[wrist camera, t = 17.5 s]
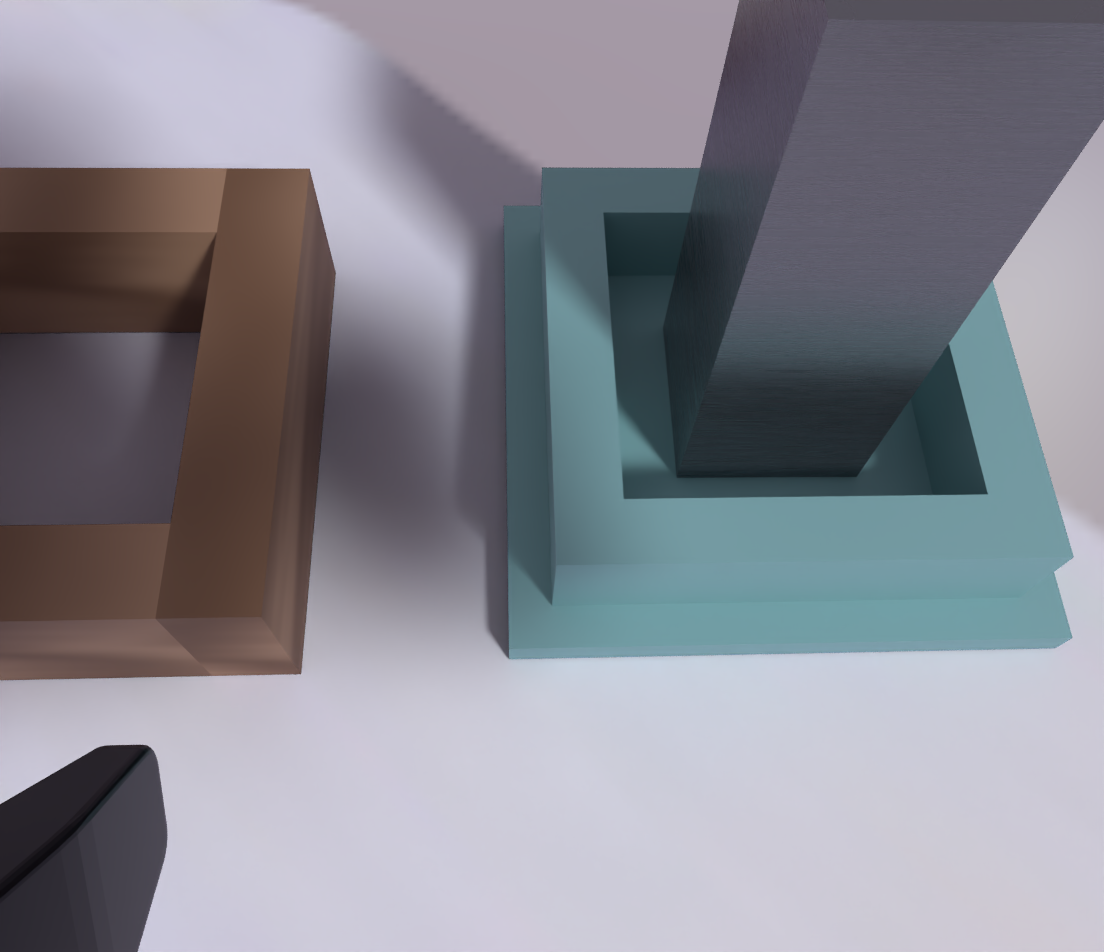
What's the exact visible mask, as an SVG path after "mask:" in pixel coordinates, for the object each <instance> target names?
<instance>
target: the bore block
mask: <svg viewBox="0 0 1104 952" xmlns="http://www.w3.org/2000/svg"><path fill="white" fill-rule="evenodd" d="M335 275H336V272H335V268H334V264H333V260H332V256H331V252H330V248H329V244H328V240H327V236H326V232H325V228H324V224H323V220H322V216H321V212H320V208H319V204H318V200H317V196H316V192H315V188H314V184H313V180H312V177H311V173H310V169H221V168H0V333H79V332H201V335H200V341H199V347H198V353H197V360H196V366H195V372H194V379H193V385H192V391H191V397H190V404H189V410H188V416H187V423H186V429H185V435H184V442H183V448H182V454H181V460H180V467H179V473H178V479H177V486H176V492H175V498H174V504H173V511H172V517H171V523H157V524H82V525H7V526H0V680H32V679H81V678H129V677H178V676H227V675H275V674H301V669H302V657H303V646H304V634H305V623H306V611H307V599H308V588H309V576H310V565H311V553H312V541H313V530H314V518H315V507H316V495H317V483H318V472H319V460H320V449H321V437H322V425H323V414H324V402H325V391H326V379H327V367H328V356H329V344H330V333H331V321H332V309H333V298H334V286H335Z"/></svg>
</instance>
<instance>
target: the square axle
mask: <svg viewBox="0 0 1104 952" xmlns="http://www.w3.org/2000/svg"><path fill="white" fill-rule="evenodd" d="M1103 120H1104V0H739V4H738V8H737V13H736V17H735V21H734V26H733V30H732V34H731V38H730V43H729V47H728V51H727V55H726V60H725V64H724V69H723V73H722V77H721V81H720V86H719V90H718V94H717V98H716V103H715V107H714V111H713V116H712V120H711V124H710V128H709V133H708V137H707V141H706V146H705V150H704V154H703V158H702V163H701V167H700V171H699V175H698V180H697V184H696V188H695V193H694V197H693V201H692V205H691V210H690V214H689V218H688V223H687V227H686V231H685V235H684V240H683V244H682V248H681V253H680V257H679V261H678V265H677V270H676V274H675V278H674V283H673V287H672V291H671V295H670V300H669V304H668V308H667V313H666V317H665V321H664V325H663V333H664V344H665V355H666V366H667V377H668V388H669V399H670V410H671V421H672V432H673V443H674V454H675V465H676V476H677V478H727V477H857V476H858V474H859V473H860V471H861V470H862V469H863V467H864V466H865V464H866V463H867V461H868V460H869V458H870V457H871V455H872V454H873V453H874V451H875V450H876V448H877V447H878V445H879V444H880V442H881V441H882V440H883V438H884V437H885V435H886V434H887V432H888V431H889V429H890V428H891V427H892V425H893V424H894V422H895V421H896V419H897V418H898V416H899V415H900V414H901V412H902V411H903V409H904V408H905V406H906V405H907V403H908V402H909V401H910V399H911V398H912V396H913V395H914V393H915V392H916V390H917V389H918V388H919V386H920V385H921V383H922V382H923V380H924V379H925V377H926V376H927V374H928V373H929V372H930V370H931V369H932V367H933V366H934V364H935V363H936V361H937V360H938V359H939V357H940V356H941V354H942V353H943V351H944V350H945V348H946V347H947V346H948V344H949V343H950V341H951V340H952V338H953V337H954V335H955V334H956V333H957V331H958V330H959V328H960V327H961V325H962V324H963V322H964V321H965V320H966V318H967V317H968V315H969V314H970V312H971V311H972V309H973V308H974V307H975V305H976V304H977V302H978V301H979V299H980V298H981V296H982V295H983V293H984V292H985V291H986V289H987V288H988V286H989V285H990V283H991V282H992V280H993V279H994V278H995V276H996V275H997V273H998V272H999V270H1000V269H1001V267H1002V266H1003V265H1004V263H1005V262H1006V260H1007V259H1008V257H1009V256H1010V254H1011V253H1012V252H1013V250H1014V249H1015V247H1016V246H1017V244H1018V243H1019V241H1020V240H1021V239H1022V237H1023V235H1024V234H1025V233H1026V231H1027V230H1028V228H1029V227H1030V226H1031V224H1032V223H1033V221H1034V220H1035V218H1036V217H1037V215H1038V214H1039V213H1040V211H1041V210H1042V208H1043V207H1044V205H1045V204H1046V202H1047V201H1048V199H1049V198H1050V196H1051V195H1052V194H1053V192H1054V191H1055V189H1056V188H1057V186H1058V185H1059V184H1060V182H1061V181H1062V179H1063V178H1064V176H1065V175H1066V173H1067V172H1068V171H1069V169H1070V168H1071V166H1072V164H1073V163H1074V162H1075V160H1076V159H1077V157H1078V156H1079V155H1080V153H1081V152H1082V150H1083V149H1084V147H1085V146H1086V144H1087V143H1088V142H1089V140H1090V139H1091V137H1092V136H1093V134H1094V133H1095V132H1096V130H1097V129H1098V127H1099V126H1100V124H1101V123H1102V121H1103Z"/></svg>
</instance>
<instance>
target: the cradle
mask: <svg viewBox="0 0 1104 952" xmlns="http://www.w3.org/2000/svg"><path fill="white" fill-rule="evenodd" d="M699 171H700V168H542V185H541V206H504V277H505V362H506V447H507V532H508V617H509V659H540V658H590V657H640V656H690V655H740V654H790V653H840V652H889V651H939V650H989V649H1039V648H1056V647H1058V646H1060V645H1061V644H1063V643H1065V642H1066V641H1068V640H1070V639H1071V638H1072V635H1071V631H1070V627H1069V624H1068V620H1067V617H1066V613H1065V610H1064V606H1063V603H1062V599H1061V595H1060V592H1059V588H1058V585H1057V581H1056V578H1055V574H1054V571H1056V570H1057V569H1058V568H1060V567H1061V566H1062V565H1064V564H1065V563H1067V562H1068V561H1069V560H1071V559H1072V558H1073V557H1074V556H1073V553H1072V550H1071V546H1070V543H1069V539H1068V536H1067V533H1066V529H1065V526H1064V522H1063V519H1062V515H1061V512H1060V509H1059V505H1058V502H1057V498H1056V495H1055V492H1054V488H1053V485H1052V481H1051V478H1050V475H1049V471H1048V468H1047V464H1046V461H1045V458H1044V454H1043V451H1042V447H1041V444H1040V441H1039V437H1038V434H1037V430H1036V427H1035V424H1034V420H1033V417H1032V413H1031V410H1030V407H1029V403H1028V400H1027V396H1026V393H1025V390H1024V386H1023V383H1022V379H1021V376H1020V372H1019V369H1018V366H1017V363H1016V359H1015V355H1014V352H1013V349H1012V345H1011V342H1010V338H1009V335H1008V332H1007V328H1006V325H1005V321H1004V318H1003V315H1002V311H1001V308H1000V304H999V301H998V298H997V294H996V291H995V288H994V284H993V280H992V282H991V283H990V285H989V286H988V288H987V289H986V291H985V292H984V293H983V295H982V296H981V298H980V299H979V301H978V302H977V304H976V305H975V307H974V308H973V309H972V311H971V312H970V314H969V315H968V317H967V318H966V320H965V321H964V322H963V324H962V325H961V327H960V328H959V330H958V331H957V333H956V334H955V335H954V337H953V338H952V340H951V341H950V343H949V344H948V346H947V347H946V348H945V350H944V351H943V353H942V354H941V356H940V357H939V359H938V360H937V361H936V363H935V364H934V366H933V367H932V369H931V370H930V372H929V373H928V374H927V376H926V377H925V379H924V380H923V382H922V383H921V385H920V386H919V388H918V389H917V390H916V392H915V393H914V395H913V396H912V398H911V399H910V401H909V402H908V403H907V405H906V406H905V408H904V409H903V411H902V412H901V414H900V415H899V416H898V418H897V419H896V421H895V422H894V424H893V425H892V427H891V428H890V429H889V431H888V432H887V434H886V435H885V437H884V438H883V440H882V441H881V442H880V444H879V445H878V447H877V448H876V450H875V451H874V453H873V454H872V455H871V457H870V458H869V460H868V461H867V463H866V464H865V466H864V467H863V469H862V470H861V471H860V473H859V474H858V476H857V477H727V478H677V476H676V465H675V454H674V443H673V432H672V421H671V410H670V399H669V388H668V377H667V366H666V355H665V344H664V333H663V325H664V321H665V317H666V313H667V308H668V304H669V300H670V295H671V291H672V287H673V283H674V278H675V274H676V270H677V265H678V261H679V257H680V253H681V248H682V244H683V240H684V235H685V231H686V227H687V223H688V218H689V214H690V210H691V205H692V201H693V197H694V193H695V188H696V184H697V180H698V175H699Z"/></svg>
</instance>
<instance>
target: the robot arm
mask: <svg viewBox="0 0 1104 952" xmlns="http://www.w3.org/2000/svg"><path fill="white" fill-rule="evenodd" d="M166 848H167V823H166V816H165V809H164V802H163V795H162V788H161V781H160V773H159V766H158V761H157V758H156V755H155V753H154V751H153V750H152V749H151V748H150V747H149V746H147V745H109V746H102V747H98V748H96V749H94V750H93V751H91V752H89V753H88V754H86V755H84V756H82V757H81V758H79V759H77V760H76V761H74V762H72V763H70V764H69V765H67V766H65V767H64V768H62V769H60V770H58V771H57V772H55V773H53V774H51V775H50V776H48V777H46V778H45V779H43V780H41V781H39V782H38V783H36V784H34V785H33V786H31V787H29V788H27V789H26V790H24V791H22V792H21V793H19V794H17V795H15V796H14V797H12V798H10V799H9V800H7V801H5V802H3V803H2V804H0V952H138V949H139V945H140V942H141V938H142V935H143V931H144V928H145V925H146V921H147V918H148V914H149V911H150V907H151V904H152V900H153V897H154V893H155V890H156V887H157V883H158V880H159V876H160V873H161V869H162V866H163V862H164V858H165V854H166Z"/></svg>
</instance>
